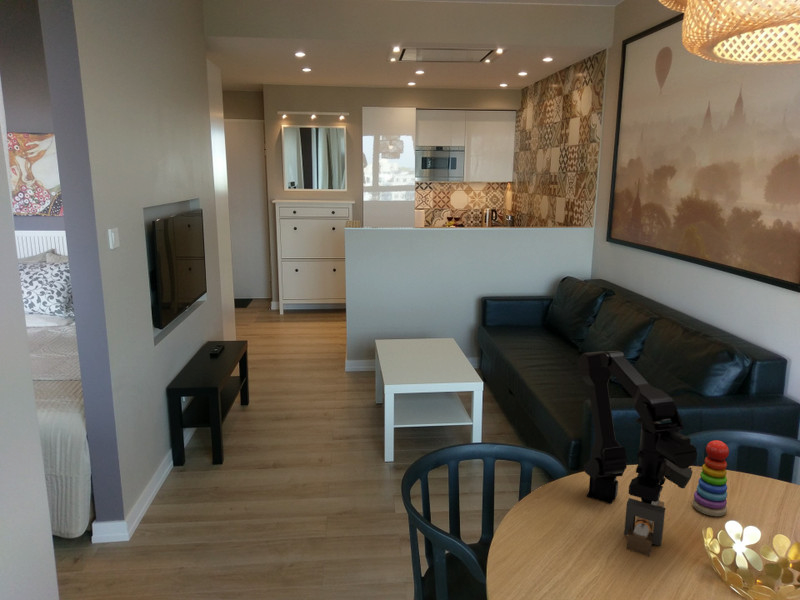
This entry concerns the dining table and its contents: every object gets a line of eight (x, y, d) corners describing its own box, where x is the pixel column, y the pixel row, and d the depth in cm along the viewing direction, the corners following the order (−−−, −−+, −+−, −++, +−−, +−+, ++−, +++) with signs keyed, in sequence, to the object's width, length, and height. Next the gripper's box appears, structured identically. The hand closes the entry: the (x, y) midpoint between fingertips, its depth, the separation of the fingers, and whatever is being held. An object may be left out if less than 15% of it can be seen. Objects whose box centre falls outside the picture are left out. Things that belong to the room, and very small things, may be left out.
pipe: (641, 510, 146) (643, 490, 145) (662, 516, 144) (664, 496, 142) (626, 549, 131) (628, 527, 130) (649, 556, 129) (651, 534, 127)
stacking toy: (731, 519, 142) (742, 450, 138) (698, 516, 143) (707, 447, 139) (719, 502, 150) (728, 436, 146) (687, 499, 151) (695, 434, 147)
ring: (626, 529, 138) (628, 497, 136) (661, 540, 133) (665, 508, 132) (624, 534, 136) (626, 502, 134) (660, 546, 131) (663, 513, 130)
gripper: (686, 474, 120) (679, 539, 123) (696, 440, 135) (689, 499, 139) (630, 460, 126) (625, 523, 129) (646, 429, 141) (641, 486, 144)
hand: (647, 507), depth 135 cm, fingers closed
